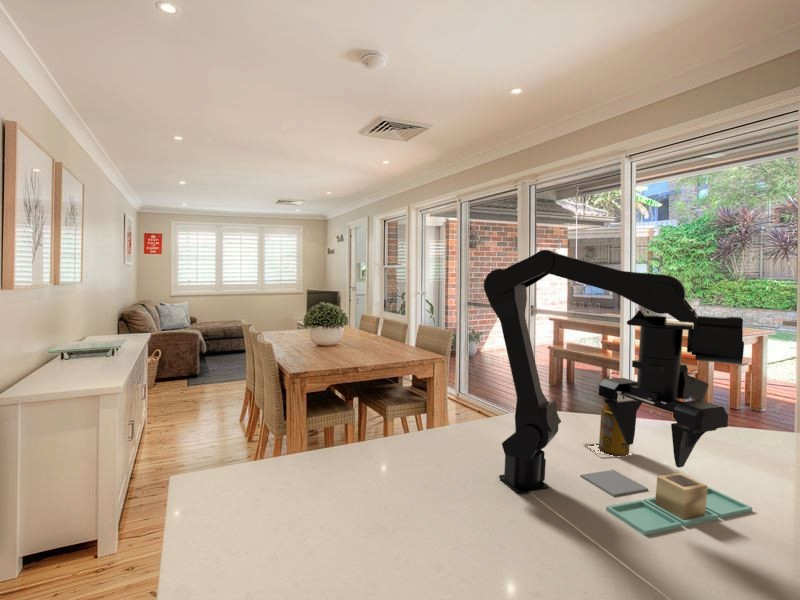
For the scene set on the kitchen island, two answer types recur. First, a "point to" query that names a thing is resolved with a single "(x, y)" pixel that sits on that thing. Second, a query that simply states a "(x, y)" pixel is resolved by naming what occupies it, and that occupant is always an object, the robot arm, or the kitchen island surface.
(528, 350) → the robot arm
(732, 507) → the dish far
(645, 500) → the dish middle
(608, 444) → the condiment
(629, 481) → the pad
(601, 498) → the kitchen island surface
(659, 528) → the dish near
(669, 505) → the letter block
